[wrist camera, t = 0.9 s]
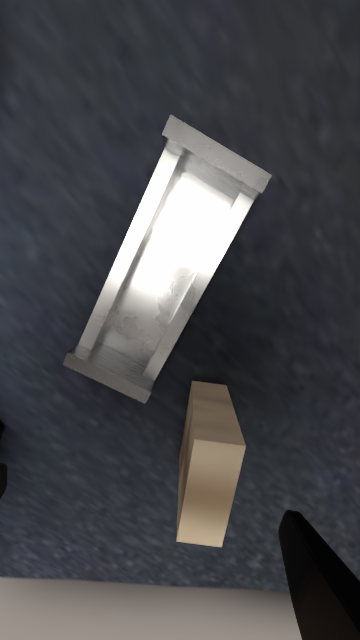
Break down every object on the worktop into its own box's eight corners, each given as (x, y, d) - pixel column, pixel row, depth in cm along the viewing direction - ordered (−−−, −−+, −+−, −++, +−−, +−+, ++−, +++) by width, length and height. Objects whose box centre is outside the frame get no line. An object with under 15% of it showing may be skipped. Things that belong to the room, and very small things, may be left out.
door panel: (212, 460, 22) (223, 547, 16) (179, 456, 22) (176, 541, 16) (228, 385, 20) (248, 446, 14) (191, 380, 20) (194, 439, 14)
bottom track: (153, 376, 20) (145, 403, 17) (86, 344, 20) (62, 364, 16) (252, 195, 17) (271, 175, 13) (174, 149, 16) (170, 114, 12)
